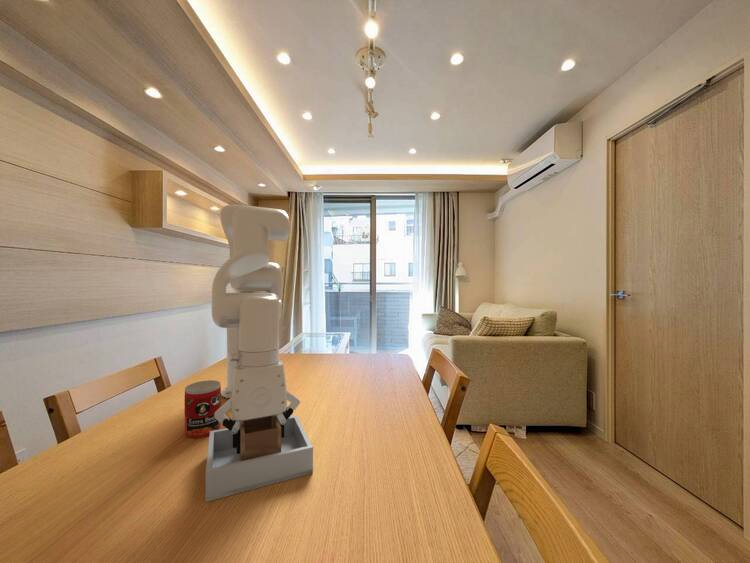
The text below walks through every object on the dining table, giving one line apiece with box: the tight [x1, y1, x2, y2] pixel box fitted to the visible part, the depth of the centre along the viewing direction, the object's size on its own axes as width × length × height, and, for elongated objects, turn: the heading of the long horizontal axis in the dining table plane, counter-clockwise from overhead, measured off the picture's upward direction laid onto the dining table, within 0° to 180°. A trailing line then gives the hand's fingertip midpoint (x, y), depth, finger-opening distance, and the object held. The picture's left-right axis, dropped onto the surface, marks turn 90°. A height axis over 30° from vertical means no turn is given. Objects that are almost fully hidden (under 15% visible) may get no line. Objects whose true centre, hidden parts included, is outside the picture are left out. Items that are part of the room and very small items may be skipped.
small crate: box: [240, 415, 281, 461], centre depth 62 cm, size 10×7×6 cm
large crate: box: [205, 415, 314, 503], centre depth 62 cm, size 15×18×5 cm
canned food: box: [184, 379, 222, 439], centre depth 75 cm, size 8×8×11 cm
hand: (259, 445), depth 62 cm, fingers closed on small crate, 6 cm apart
